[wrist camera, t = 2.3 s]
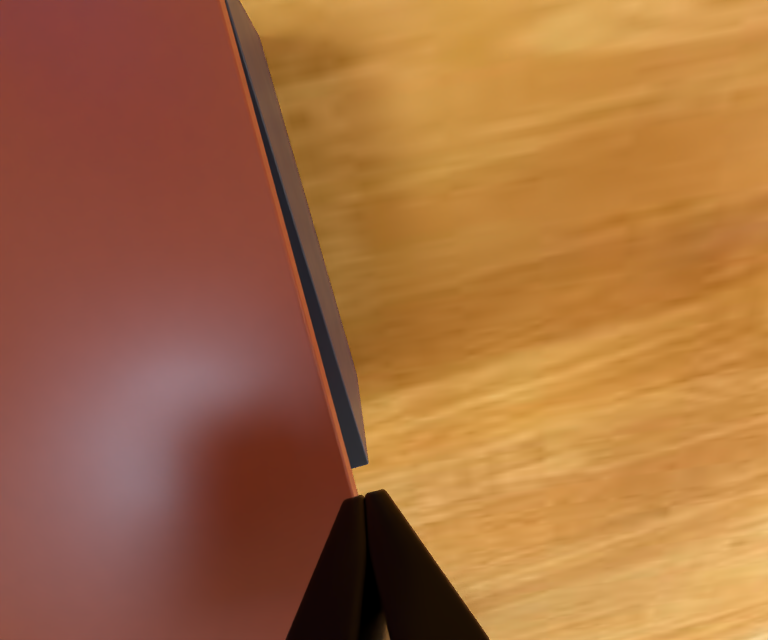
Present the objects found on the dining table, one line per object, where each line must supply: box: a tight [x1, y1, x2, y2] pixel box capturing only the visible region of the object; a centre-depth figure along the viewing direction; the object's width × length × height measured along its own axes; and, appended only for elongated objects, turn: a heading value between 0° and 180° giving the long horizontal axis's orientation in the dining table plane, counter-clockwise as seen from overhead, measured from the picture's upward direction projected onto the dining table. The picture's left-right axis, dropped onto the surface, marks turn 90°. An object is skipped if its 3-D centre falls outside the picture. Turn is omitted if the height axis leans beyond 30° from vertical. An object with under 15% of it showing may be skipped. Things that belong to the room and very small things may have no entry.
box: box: [225, 0, 369, 469], centre depth 15 cm, size 16×13×7 cm
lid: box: [0, 0, 358, 640], centre depth 9 cm, size 16×13×1 cm
